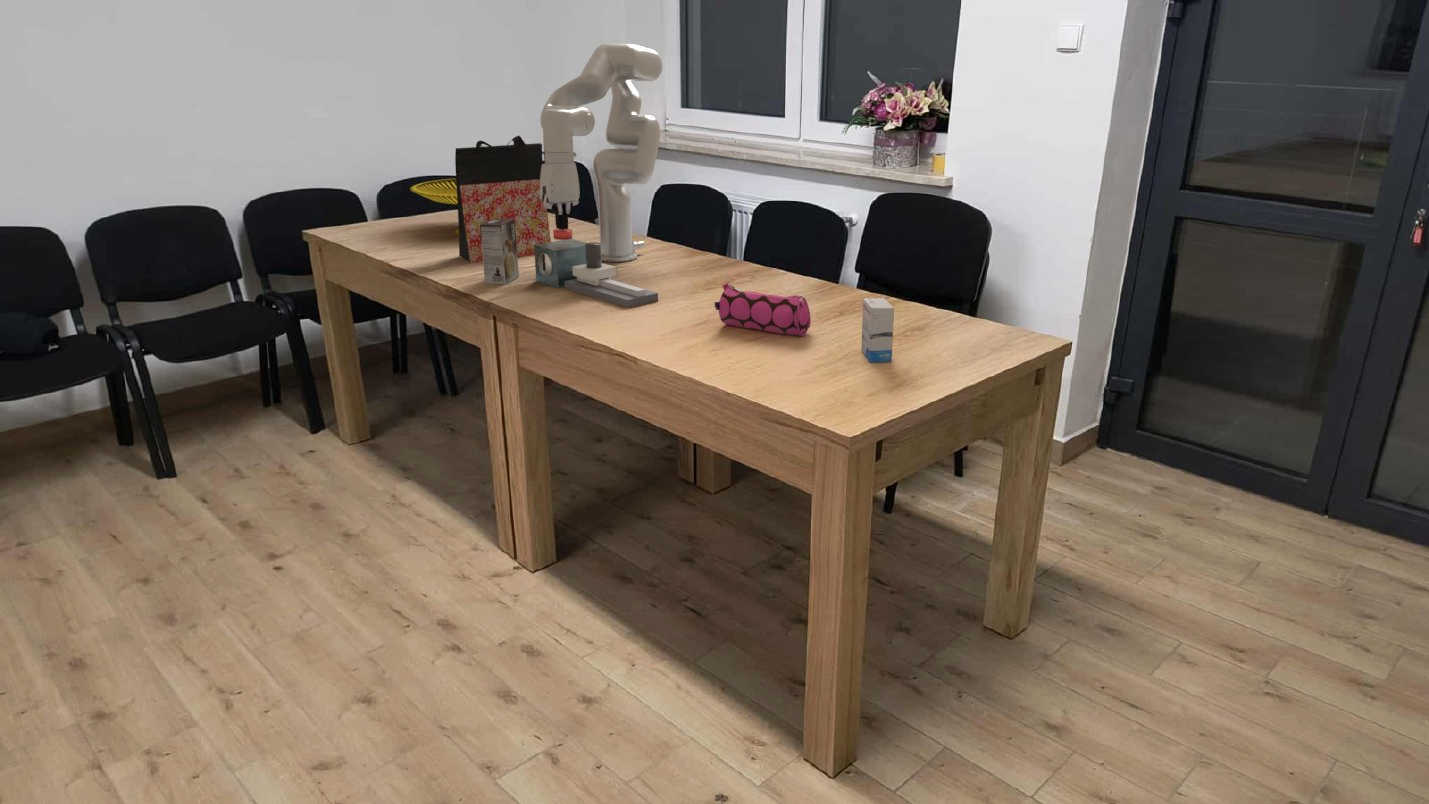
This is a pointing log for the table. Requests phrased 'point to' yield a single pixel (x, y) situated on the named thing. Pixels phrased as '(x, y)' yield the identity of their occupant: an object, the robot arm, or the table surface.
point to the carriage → (593, 266)
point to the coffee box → (499, 251)
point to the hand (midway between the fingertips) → (562, 228)
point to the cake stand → (438, 192)
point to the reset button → (562, 234)
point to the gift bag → (500, 194)
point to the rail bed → (613, 292)
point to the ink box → (877, 330)
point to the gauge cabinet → (558, 261)
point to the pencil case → (764, 311)
